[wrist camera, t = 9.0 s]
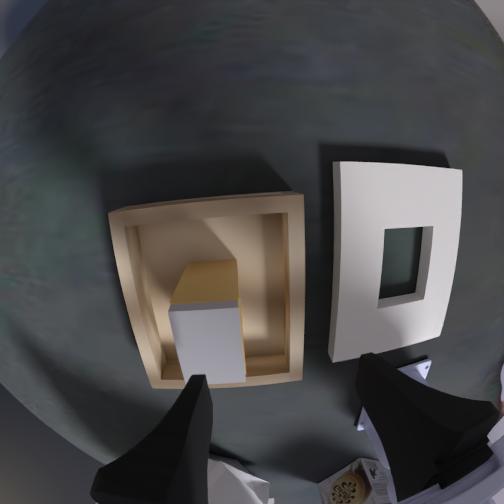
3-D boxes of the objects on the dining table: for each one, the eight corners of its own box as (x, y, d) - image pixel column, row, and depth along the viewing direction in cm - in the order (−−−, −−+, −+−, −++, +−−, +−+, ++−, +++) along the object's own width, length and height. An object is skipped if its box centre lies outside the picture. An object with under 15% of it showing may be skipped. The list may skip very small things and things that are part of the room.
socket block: (431, 328, 24) (439, 336, 22) (327, 352, 23) (332, 362, 22) (451, 169, 19) (462, 170, 18) (332, 162, 19) (340, 161, 17)
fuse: (242, 321, 21) (247, 383, 14) (197, 324, 21) (185, 386, 14) (237, 259, 20) (239, 305, 13) (187, 263, 19) (166, 309, 13)
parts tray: (294, 357, 23) (302, 379, 20) (159, 366, 22) (152, 388, 20) (293, 191, 19) (303, 194, 16) (124, 206, 18) (107, 213, 16)
